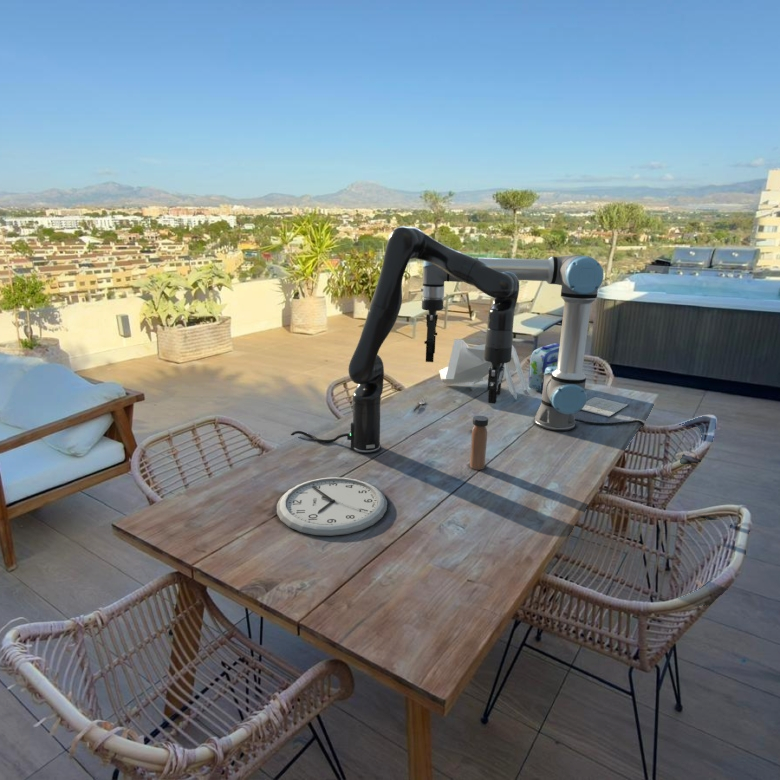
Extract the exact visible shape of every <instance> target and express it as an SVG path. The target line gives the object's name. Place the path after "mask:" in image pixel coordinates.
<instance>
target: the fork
mask: <svg viewBox="0 0 780 780" xmlns="http://www.w3.org/2000/svg"><path fill="white" fill-rule="evenodd" d="M427 399H428V397H424V396H422V397H421V398H420V400H419V402H418V403H419V404H417V405H416V406H415V408H413V412H415V411H416V410H419V408H420V406H421V405H425V404H426V403H427Z"/></svg>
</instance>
